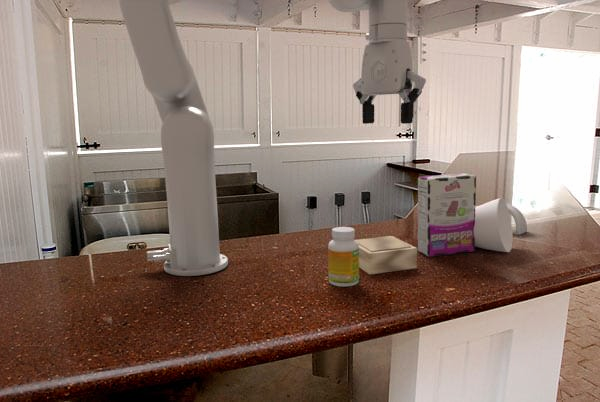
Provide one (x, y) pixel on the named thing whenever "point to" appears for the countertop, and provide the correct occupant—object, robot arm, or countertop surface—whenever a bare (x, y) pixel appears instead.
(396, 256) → the plinth
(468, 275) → the countertop surface
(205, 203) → the robot arm
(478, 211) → the rocket engine
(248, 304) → the countertop surface
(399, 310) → the countertop surface
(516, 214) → the spoon rest
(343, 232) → the supplement bottle
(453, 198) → the candy bar box
